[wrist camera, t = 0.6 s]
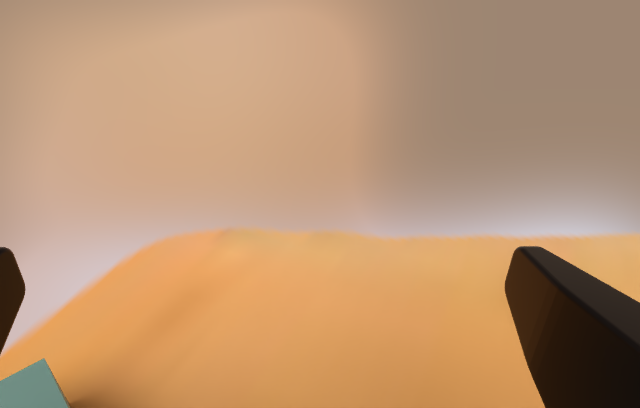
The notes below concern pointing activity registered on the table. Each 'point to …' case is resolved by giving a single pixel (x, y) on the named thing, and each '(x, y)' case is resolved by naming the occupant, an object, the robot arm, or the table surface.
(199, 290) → the table surface
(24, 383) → the bar
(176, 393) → the table surface
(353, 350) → the table surface
